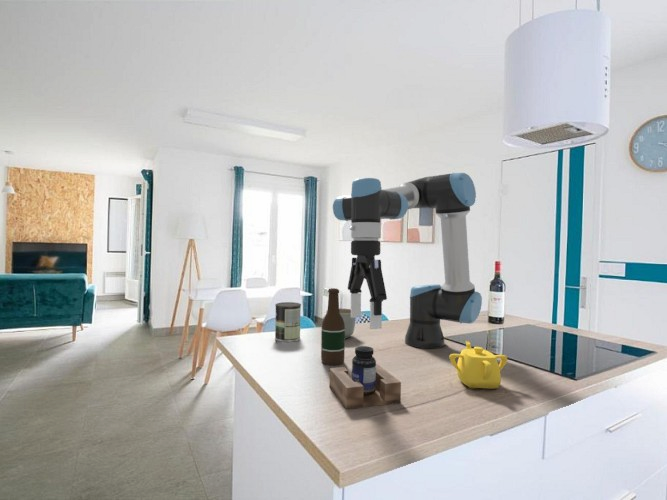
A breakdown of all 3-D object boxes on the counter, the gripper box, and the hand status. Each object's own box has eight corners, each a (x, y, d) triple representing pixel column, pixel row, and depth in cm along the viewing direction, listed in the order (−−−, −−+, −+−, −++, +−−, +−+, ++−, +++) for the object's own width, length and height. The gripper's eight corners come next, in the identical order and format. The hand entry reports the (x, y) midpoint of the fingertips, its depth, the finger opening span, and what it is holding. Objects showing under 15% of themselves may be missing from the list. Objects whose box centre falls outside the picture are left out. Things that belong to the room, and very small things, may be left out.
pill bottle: (347, 388, 95) (348, 346, 95) (368, 385, 98) (368, 344, 98) (358, 397, 90) (359, 353, 90) (379, 393, 92) (380, 350, 92)
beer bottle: (342, 366, 115) (343, 290, 115) (318, 364, 117) (319, 289, 116) (346, 359, 123) (347, 287, 122) (323, 357, 124) (324, 287, 124)
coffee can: (271, 341, 144) (272, 305, 144) (279, 335, 154) (279, 301, 154) (297, 342, 143) (297, 306, 143) (302, 336, 153) (303, 302, 153)
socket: (377, 381, 103) (377, 364, 103) (400, 402, 89) (400, 382, 89) (329, 386, 98) (329, 368, 98) (346, 409, 85) (346, 387, 85)
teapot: (441, 381, 104) (442, 345, 104) (465, 371, 112) (466, 338, 112) (488, 397, 93) (489, 357, 93) (511, 385, 102) (512, 348, 101)
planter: (324, 333, 159) (325, 308, 158) (352, 333, 160) (353, 308, 160) (327, 340, 146) (327, 313, 146) (357, 340, 148) (358, 313, 148)
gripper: (336, 239, 104) (336, 313, 105) (371, 239, 80) (370, 335, 81) (361, 240, 106) (360, 312, 107) (402, 239, 83) (401, 333, 83)
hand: (365, 322), depth 94 cm, fingers open, 13 cm apart
